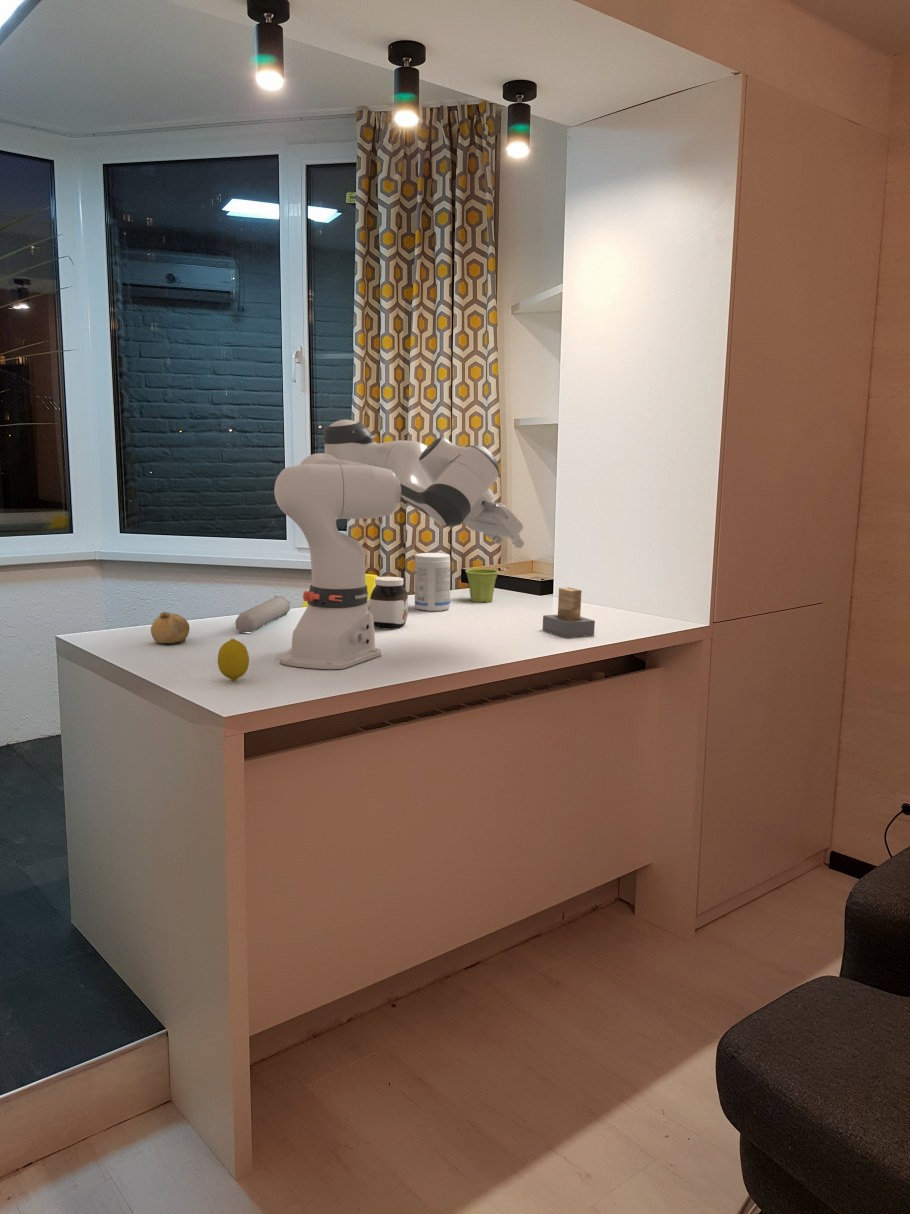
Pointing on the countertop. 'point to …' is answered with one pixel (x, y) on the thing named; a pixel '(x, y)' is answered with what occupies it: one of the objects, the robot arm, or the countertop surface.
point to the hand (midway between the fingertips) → (510, 543)
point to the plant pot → (481, 584)
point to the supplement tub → (432, 581)
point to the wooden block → (569, 604)
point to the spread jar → (388, 603)
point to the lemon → (233, 659)
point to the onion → (170, 628)
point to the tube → (262, 614)
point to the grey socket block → (568, 626)
